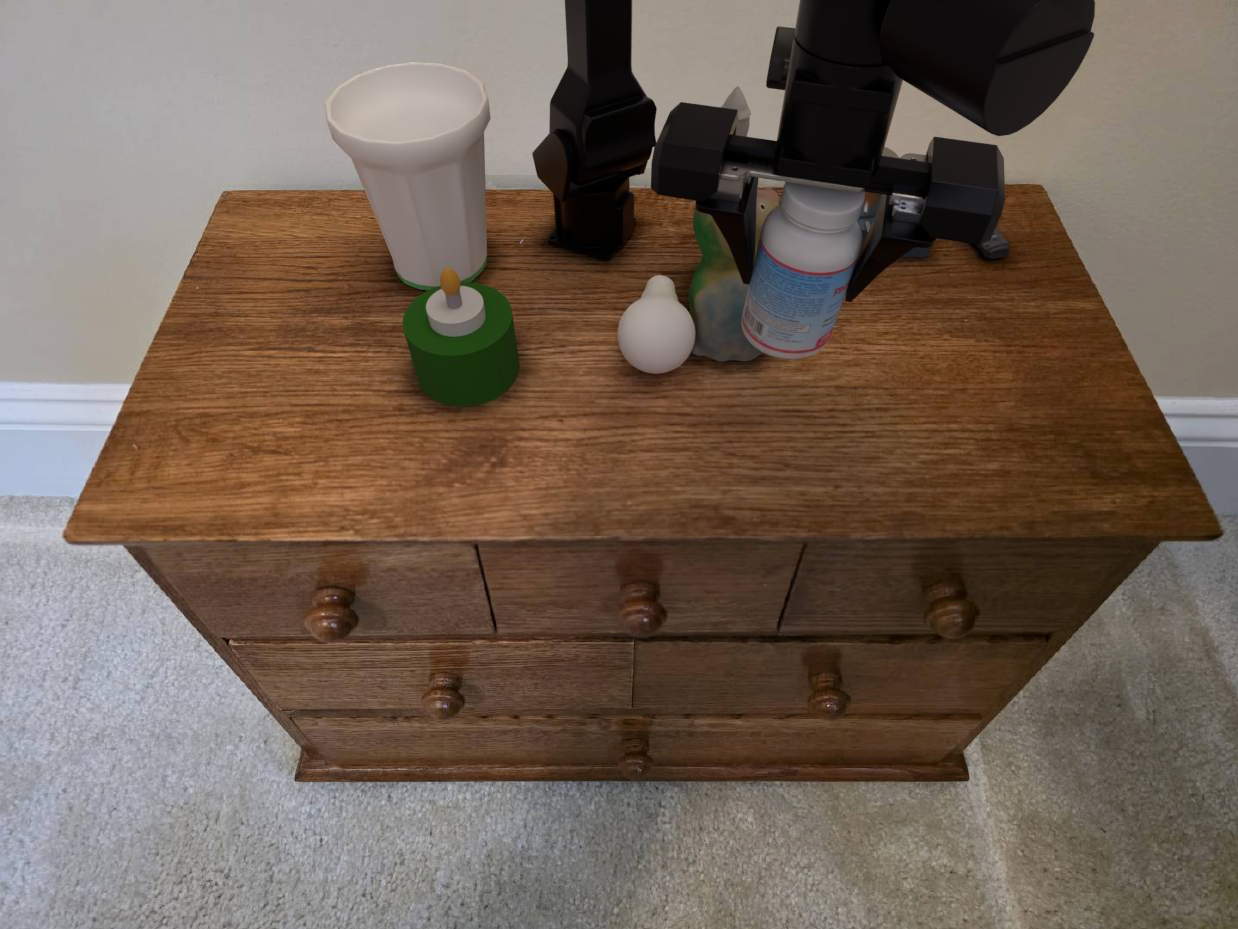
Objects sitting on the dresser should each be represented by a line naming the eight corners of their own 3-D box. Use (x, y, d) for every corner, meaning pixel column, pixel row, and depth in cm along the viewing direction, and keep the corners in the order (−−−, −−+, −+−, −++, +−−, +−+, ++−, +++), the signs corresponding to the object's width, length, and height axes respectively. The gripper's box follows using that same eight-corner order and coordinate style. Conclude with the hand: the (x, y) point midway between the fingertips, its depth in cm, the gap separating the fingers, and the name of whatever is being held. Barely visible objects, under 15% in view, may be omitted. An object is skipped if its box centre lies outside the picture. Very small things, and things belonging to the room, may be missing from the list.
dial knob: (897, 208, 74) (912, 160, 70) (857, 223, 72) (870, 174, 69) (864, 182, 76) (877, 135, 72) (825, 196, 75) (836, 148, 71)
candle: (476, 421, 62) (455, 323, 54) (395, 380, 65) (364, 281, 57) (539, 357, 66) (528, 257, 58) (461, 321, 69) (440, 221, 61)
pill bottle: (834, 366, 53) (888, 224, 44) (742, 360, 53) (777, 217, 44) (823, 303, 57) (870, 160, 48) (737, 298, 57) (768, 154, 48)
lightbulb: (703, 306, 70) (702, 381, 62) (636, 320, 72) (626, 395, 64) (687, 243, 67) (684, 314, 59) (616, 260, 68) (604, 331, 60)
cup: (529, 282, 72) (511, 119, 60) (394, 323, 69) (346, 159, 57) (482, 208, 79) (457, 48, 67) (357, 242, 76) (307, 80, 64)
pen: (718, 242, 76) (734, 96, 65) (702, 227, 77) (716, 82, 66) (740, 234, 76) (760, 89, 65) (724, 219, 78) (741, 75, 67)
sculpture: (795, 365, 66) (818, 265, 58) (691, 369, 65) (700, 270, 58) (765, 252, 75) (782, 153, 67) (674, 256, 74) (680, 156, 67)
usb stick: (938, 202, 79) (942, 188, 78) (962, 199, 80) (968, 185, 79) (983, 262, 74) (989, 248, 73) (1009, 259, 74) (1016, 245, 73)
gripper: (1044, -9, 43) (949, 237, 55) (699, -46, 46) (682, 195, 58) (1057, 94, 36) (946, 347, 49) (653, 44, 39) (645, 294, 52)
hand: (797, 288), depth 52 cm, fingers closed on pill bottle, 6 cm apart
